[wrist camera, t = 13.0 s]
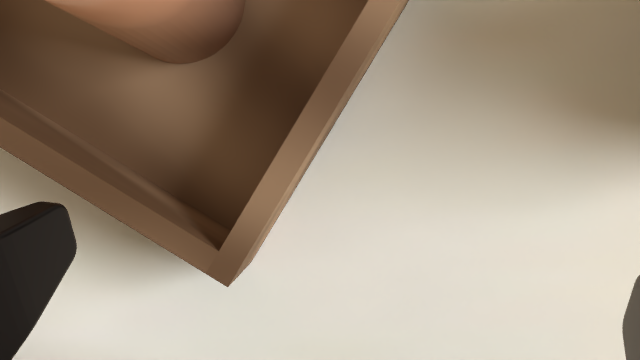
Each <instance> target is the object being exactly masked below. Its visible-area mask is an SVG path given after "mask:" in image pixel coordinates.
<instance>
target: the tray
mask: <svg viewBox="0 0 640 360" xmlns="http://www.w3.org/2000/svg"><path fill="white" fill-rule="evenodd" d="M408 1H409V0H245V7H244V13H243V17H242V20H241V23H240V25H239V27H238V29H237V31H236V32H235V34H234V36H233V37H232V38H231V40H230V41H229V42H228V43H227V44H226V45H225V46H224V47H223V48H222V49H221V50H219V51H218V52H217V53H215V54H214V55H212V56H210V57H208V58H206V59H203V60H200V61H197V62H192V63H184V64H178V63H169V62H164V61H161V60H159V59H156V58H154V57H152V56H150V55H148V54H146V53H144V52H142V51H140V50H138V49H136V48H135V47H133V46H131V45H129V44H127V43H125V42H123V41H121V40H119V39H117V38H115V37H113V36H112V35H110V34H108V33H106V32H104V31H102V30H100V29H98V28H96V27H94V26H92V25H90V24H88V23H87V22H85V21H83V20H81V19H79V18H77V17H75V16H73V15H71V14H69V13H67V12H65V11H64V10H62V9H60V8H58V7H56V6H54V5H52V4H50V3H48V2H46V1H44V0H0V147H1V148H2V149H4V150H6V151H7V152H9V153H11V154H12V155H14V156H15V157H17V158H19V159H20V160H22V161H24V162H25V163H27V164H28V165H30V166H32V167H33V168H35V169H37V170H38V171H40V172H41V173H43V174H45V175H46V176H48V177H50V178H51V179H53V180H54V181H56V182H58V183H59V184H61V185H63V186H64V187H66V188H67V189H69V190H71V191H72V192H74V193H76V194H77V195H79V196H80V197H82V198H84V199H85V200H87V201H89V202H90V203H92V204H93V205H95V206H97V207H98V208H100V209H102V210H103V211H105V212H106V213H108V214H110V215H111V216H113V217H115V218H116V219H118V220H119V221H121V222H123V223H124V224H126V225H128V226H129V227H131V228H132V229H134V230H136V231H137V232H139V233H141V234H142V235H144V236H145V237H147V238H149V239H150V240H152V241H154V242H155V243H157V244H158V245H160V246H162V247H163V248H165V249H166V250H168V251H170V252H171V253H173V254H175V255H176V256H178V257H179V258H181V259H183V260H184V261H186V262H188V263H189V264H191V265H192V266H194V267H196V268H197V269H199V270H201V271H202V272H204V273H205V274H207V275H209V276H210V277H212V278H214V279H215V280H217V281H218V282H220V283H222V284H223V285H225V286H227V287H229V285H230V284H231V283H232V282H233V281H234V280H235V279H236V278H237V277H238V276H239V275H240V274H241V272H242V271H243V270H244V269H245V268H246V267H247V266H248V265H249V264H250V263H251V261H252V260H253V258H254V257H255V255H256V253H257V252H258V250H259V248H260V247H261V245H262V243H263V242H264V240H265V238H266V237H267V235H268V233H269V232H270V230H271V228H272V227H273V225H274V223H275V222H276V220H277V218H278V217H279V215H280V213H281V212H282V210H283V208H284V207H285V205H286V203H287V202H288V200H289V198H290V197H291V195H292V193H293V192H294V190H295V188H296V187H297V185H298V183H299V182H300V180H301V178H302V177H303V175H304V174H305V172H306V170H307V169H308V167H309V165H310V164H311V162H312V160H313V159H314V157H315V155H316V154H317V152H318V150H319V149H320V147H321V145H322V144H323V142H324V140H325V139H326V137H327V135H328V134H329V132H330V130H331V129H332V127H333V125H334V124H335V122H336V120H337V119H338V117H339V115H340V114H341V112H342V110H343V109H344V107H345V105H346V104H347V102H348V100H349V99H350V97H351V95H352V94H353V92H354V91H355V89H356V87H357V86H358V84H359V82H360V81H361V79H362V77H363V76H364V74H365V72H366V71H367V69H368V67H369V66H370V64H371V62H372V61H373V59H374V57H375V56H376V54H377V52H378V51H379V49H380V47H381V46H382V44H383V42H384V41H385V39H386V37H387V36H388V34H389V32H390V31H391V29H392V27H393V26H394V24H395V22H396V21H397V19H398V17H399V16H400V14H401V13H402V11H403V9H404V8H405V6H406V4H407V3H408Z"/></svg>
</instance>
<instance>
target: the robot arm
mask: <svg viewBox="0 0 640 360" xmlns="http://www.w3.org/2000/svg"><path fill="white" fill-rule="evenodd" d="M76 249H77V244H76V239H75V236H74V232H73V229H72V225H71V221H70V218H69V214H68V211H67V209H66V208H65V207H64V206H63V205H61V204H58V203H50V202H36V203H33V204H30V205H27V206H24V207H21V208H18V209H15V210H12V211H9V212H6V213H4V214H1V215H0V360H12V358H13V357H14V355H15V354H16V353H17V351H18V350H19V348H20V347H21V346H22V344H23V343H24V341H25V340H26V338H27V337H28V336H29V334H30V333H31V331H32V330H33V328H34V326H35V325H36V323H37V321H38V320H39V318H40V316H41V315H42V313H43V311H44V309H45V308H46V306H47V304H48V302H49V301H50V299H51V297H52V296H53V294H54V292H55V290H56V289H57V287H58V285H59V283H60V282H61V280H62V278H63V277H64V275H65V273H66V271H67V270H68V268H69V266H70V264H71V263H72V261H73V259H74V257H75V254H76ZM623 340H624V347H625V354H626V360H640V275H639V276H638V278H637V279H636V281H635V284H634V287H633V290H632V293H631V296H630V300H629V303H628V306H627V309H626V312H625V315H624V319H623Z"/></svg>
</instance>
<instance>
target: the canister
mask: <svg viewBox="0 0 640 360" xmlns="http://www.w3.org/2000/svg"><path fill="white" fill-rule="evenodd" d="M44 1H46V2H48V3H50V4H52V5H54V6H56V7H58V8H60V9H62V10H64V11H65V12H67V13H69V14H71V15H73V16H75V17H77V18H79V19H81V20H83V21H85V22H87V23H88V24H90V25H92V26H94V27H96V28H98V29H100V30H102V31H104V32H106V33H108V34H110V35H112V36H113V37H115V38H117V39H119V40H121V41H123V42H125V43H127V44H129V45H131V46H133V47H135V48H136V49H138V50H140V51H142V52H144V53H146V54H148V55H150V56H152V57H154V58H156V59H159V60H161V61H164V62H169V63H178V64H184V63H192V62H197V61H200V60H203V59H206V58H208V57H210V56H212V55H214V54H215V53H217V52H218V51H219V50H221V49H222V48H223V47H224V46H225V45H226V44H227V43H228V42H229V41H230V40H231V38H232V37H233V36H234V34H235V32H236V31H237V29H238V27H239V25H240V23H241V20H242V17H243V13H244V7H245V0H44Z"/></svg>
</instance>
